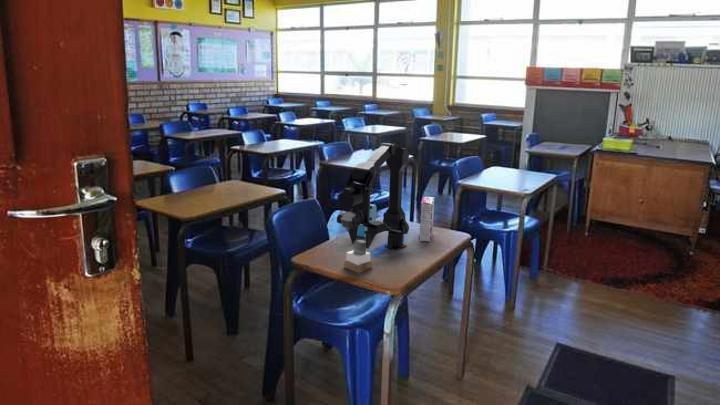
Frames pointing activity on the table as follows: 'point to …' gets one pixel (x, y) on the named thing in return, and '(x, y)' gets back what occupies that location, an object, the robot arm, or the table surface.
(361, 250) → the spool
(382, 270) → the table surface
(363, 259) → the top block
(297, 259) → the table surface
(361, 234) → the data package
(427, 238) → the candy bar box
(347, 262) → the bottom block
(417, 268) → the table surface
